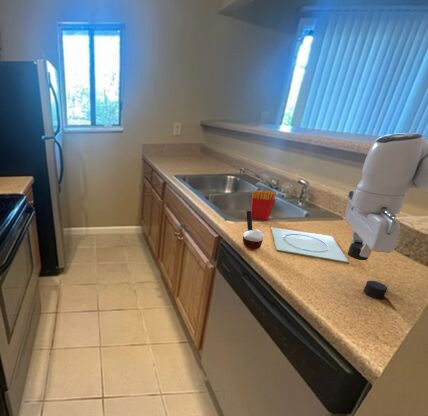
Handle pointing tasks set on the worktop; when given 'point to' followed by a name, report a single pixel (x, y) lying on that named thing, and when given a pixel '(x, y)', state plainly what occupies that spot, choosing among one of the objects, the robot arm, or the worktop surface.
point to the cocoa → (252, 235)
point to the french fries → (262, 204)
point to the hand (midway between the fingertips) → (359, 250)
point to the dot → (375, 289)
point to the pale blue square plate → (307, 244)
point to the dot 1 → (356, 251)
